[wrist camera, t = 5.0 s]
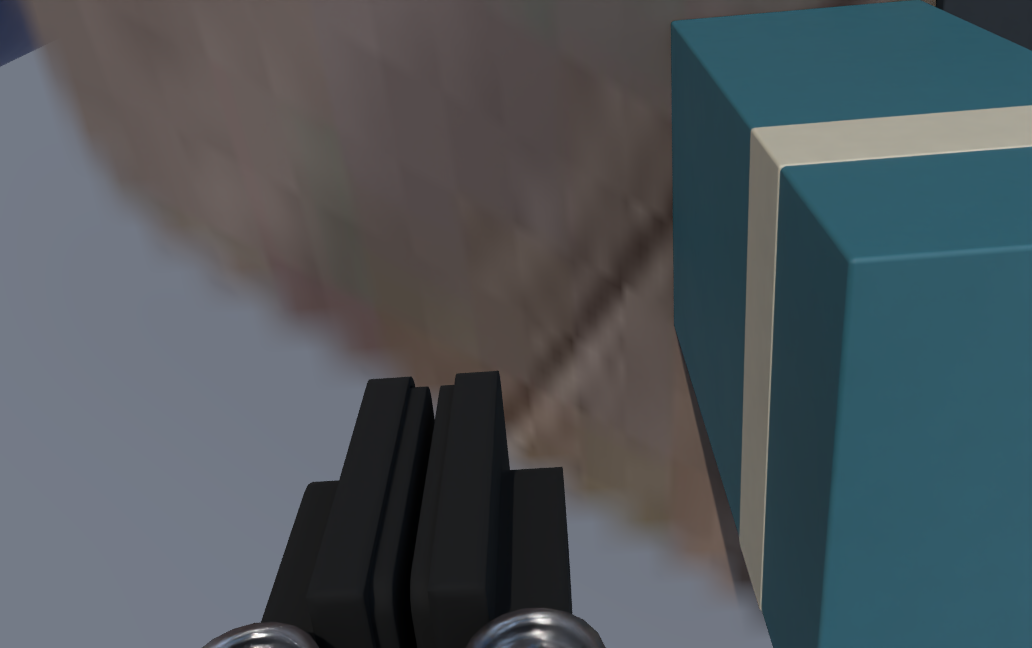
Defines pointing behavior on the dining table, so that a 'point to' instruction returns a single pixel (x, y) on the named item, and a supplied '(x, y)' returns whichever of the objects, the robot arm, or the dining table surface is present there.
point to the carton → (862, 315)
